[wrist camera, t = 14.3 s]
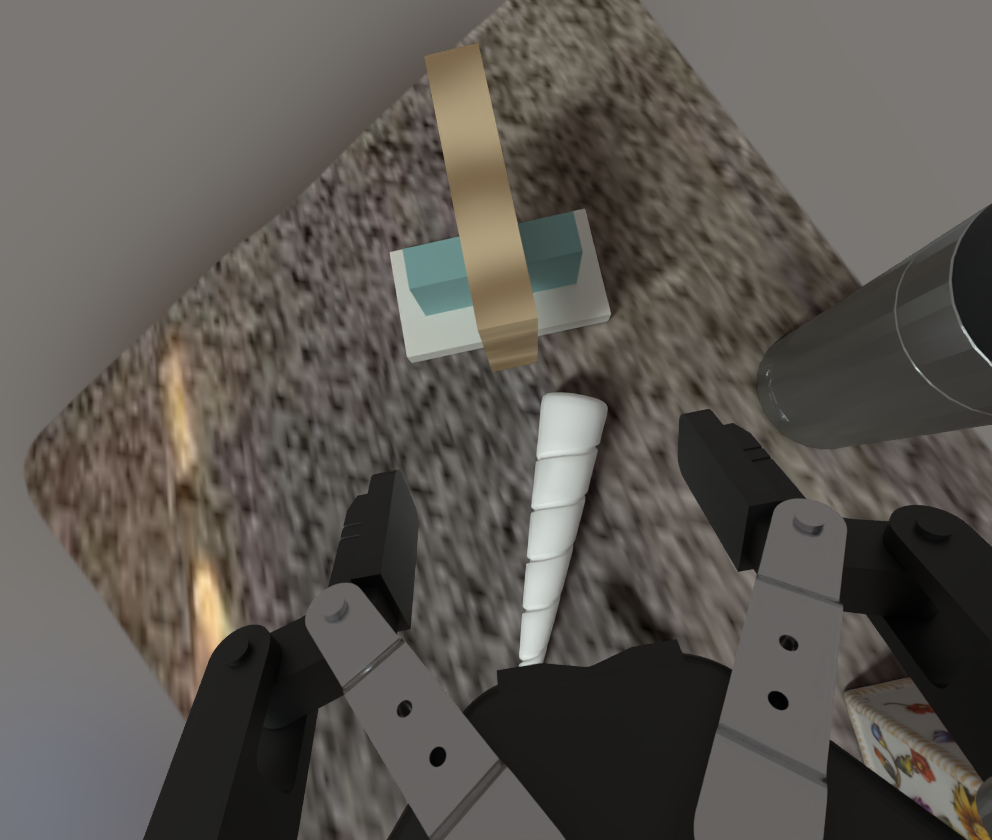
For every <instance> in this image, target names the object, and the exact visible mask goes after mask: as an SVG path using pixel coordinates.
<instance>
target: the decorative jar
mask: <svg viewBox="0 0 992 840" xmlns="http://www.w3.org/2000/svg"><path fill="white" fill-rule="evenodd" d="M844 698H845V702H846V706H847V710H848V713H849V716H850V719H851V722H852V725H853V728H854V731H855V734H856V737H857V740H858V743H859V747H860V750H861V753H862V757H863V760H864V763H865V765H866V766H867V767H868V768H870V769H871V770H872V771H874V772H875V773H877V774H878V775H879V776H881V777H882V778H883V779H885V780H886V781H888V782H889V783H890V784H892V785H893V786H894V787H896V788H897V789H899V790H900V791H901V792H903V793H904V794H905V795H907V796H908V797H910V798H911V799H912V800H914V801H915V802H916V803H918V804H919V805H921V806H922V807H923V808H925V809H926V810H927V811H929V812H930V813H932V814H933V815H934V816H936V817H937V818H938V819H940V820H941V821H943V822H944V823H945V824H947V825H948V826H949V827H951V828H952V829H954V830H955V831H956V832H958V833H959V834H960V835H962V836H963V837H965V838H966V839H967V840H991V839H990V837H989V835H988V833H987V831H986V829H985V827H984V825H983V823H982V822H981V819H980V817H979V814H978V811H977V806H976V794H977V790H978V789H979V787H980V785H981V784H982V783H983V781H982V779H981V778H980V776H979V775H978V774H977V772H976V771H975V769H974V768H973V766H972V765H971V764H970V762H969V761H968V759H967V758H966V756H965V755H964V754H963V752H962V751H961V749H960V748H959V746H958V745H957V744H956V742H955V741H954V739H953V738H952V736H951V735H950V734H949V732H948V731H947V729H946V728H945V726H944V725H943V724H942V722H941V721H940V719H939V718H938V716H937V715H936V714H935V712H934V711H933V709H932V708H931V706H930V705H929V704H928V702H927V701H926V699H925V698H924V696H923V695H922V694H921V692H920V691H919V689H918V688H917V686H916V685H915V684H914V682H913V681H912V679H911V678H910V677H909V678H902V679H898V680H893V681H889V682H884V683H879V684H875V685H871V686H866V687H861V688H856V689H851V690H848V691H845V693H844Z"/></svg>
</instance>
